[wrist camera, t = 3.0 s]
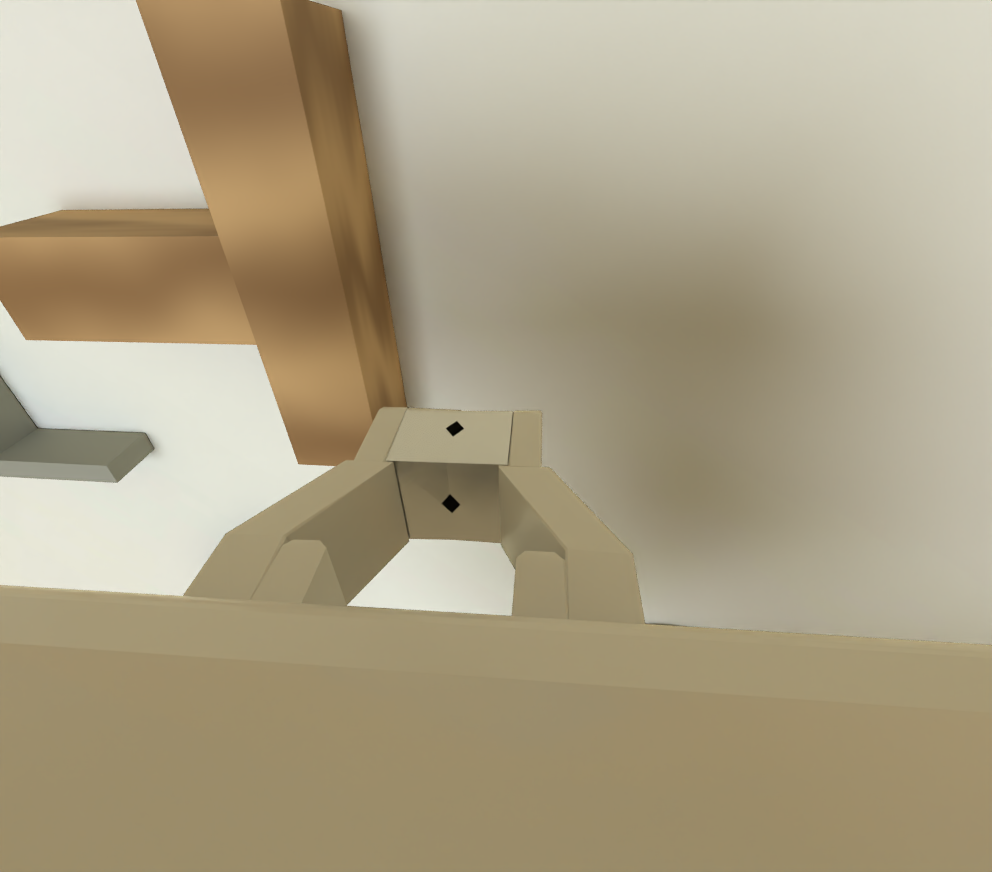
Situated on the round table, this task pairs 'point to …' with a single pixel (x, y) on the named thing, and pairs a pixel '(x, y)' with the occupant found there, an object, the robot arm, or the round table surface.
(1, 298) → the T block
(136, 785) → the robot arm
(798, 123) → the round table surface
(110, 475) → the T bay
